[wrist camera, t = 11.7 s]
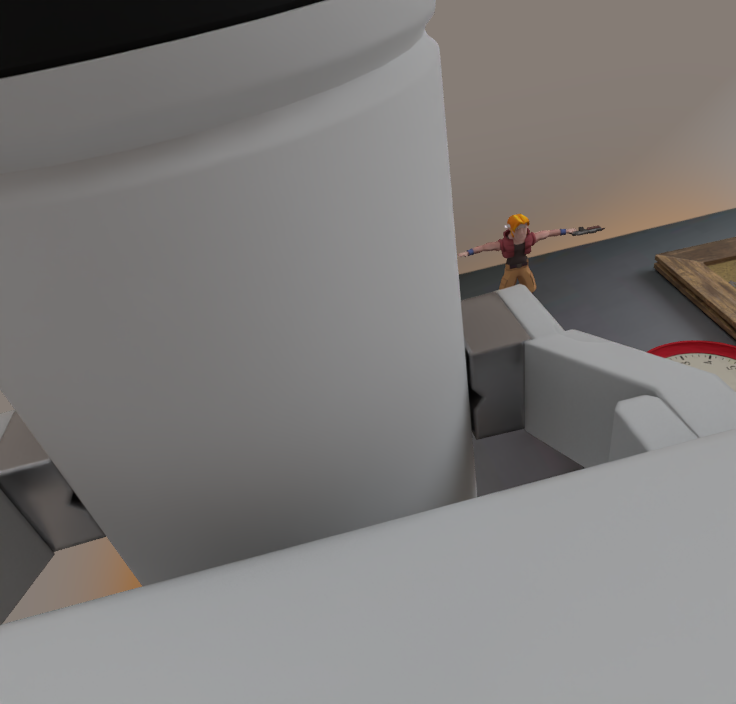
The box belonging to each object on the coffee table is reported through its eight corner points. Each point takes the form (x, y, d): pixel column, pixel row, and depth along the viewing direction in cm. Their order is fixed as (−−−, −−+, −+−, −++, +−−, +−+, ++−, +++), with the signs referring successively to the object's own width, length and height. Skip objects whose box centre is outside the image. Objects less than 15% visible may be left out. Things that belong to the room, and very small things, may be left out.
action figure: (588, 286, 53) (595, 187, 47) (602, 302, 50) (611, 201, 45) (459, 314, 53) (450, 219, 47) (468, 332, 50) (460, 234, 45)
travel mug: (281, 895, 13) (-2113, -1286, 1) (262, 623, 18) (-222, -284, 7) (542, 809, 14) (629, -1399, 2) (450, 567, 19) (316, -376, 7)
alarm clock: (881, 435, 31) (608, 433, 30) (820, 510, 35) (575, 511, 33) (765, 325, 39) (548, 320, 38) (726, 395, 43) (527, 392, 42)
